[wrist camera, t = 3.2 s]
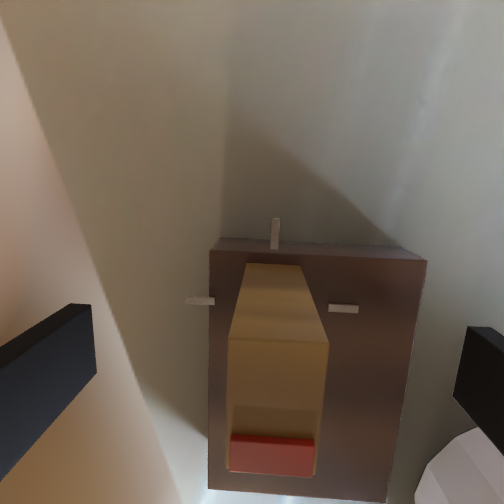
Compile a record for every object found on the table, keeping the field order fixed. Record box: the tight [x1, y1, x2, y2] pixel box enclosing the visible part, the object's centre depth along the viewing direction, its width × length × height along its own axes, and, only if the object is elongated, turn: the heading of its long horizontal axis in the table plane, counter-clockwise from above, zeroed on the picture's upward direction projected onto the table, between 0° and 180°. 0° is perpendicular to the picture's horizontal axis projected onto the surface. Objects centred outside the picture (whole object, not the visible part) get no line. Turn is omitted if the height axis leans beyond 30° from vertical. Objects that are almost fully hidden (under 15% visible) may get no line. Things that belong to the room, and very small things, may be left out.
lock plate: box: [186, 218, 428, 503], centre depth 17 cm, size 16×11×3 cm
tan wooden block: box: [225, 263, 330, 478], centre depth 11 cm, size 4×2×7 cm, turn 178°
